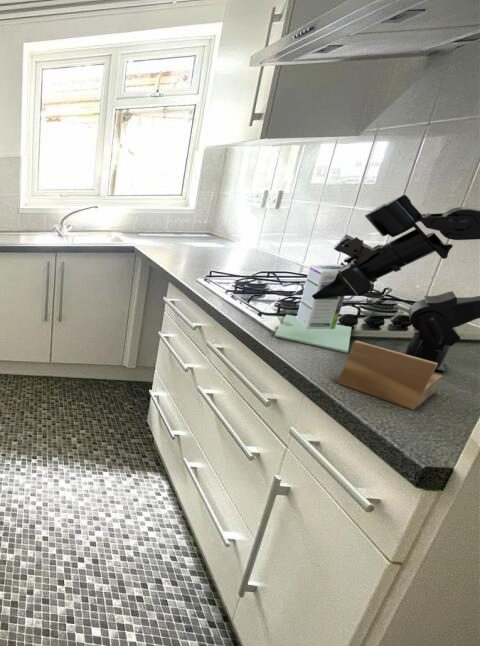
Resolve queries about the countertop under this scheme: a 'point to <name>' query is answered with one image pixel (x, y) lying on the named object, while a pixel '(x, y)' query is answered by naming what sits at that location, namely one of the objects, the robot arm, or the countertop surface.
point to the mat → (316, 335)
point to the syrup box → (319, 310)
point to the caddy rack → (389, 375)
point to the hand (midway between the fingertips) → (314, 294)
